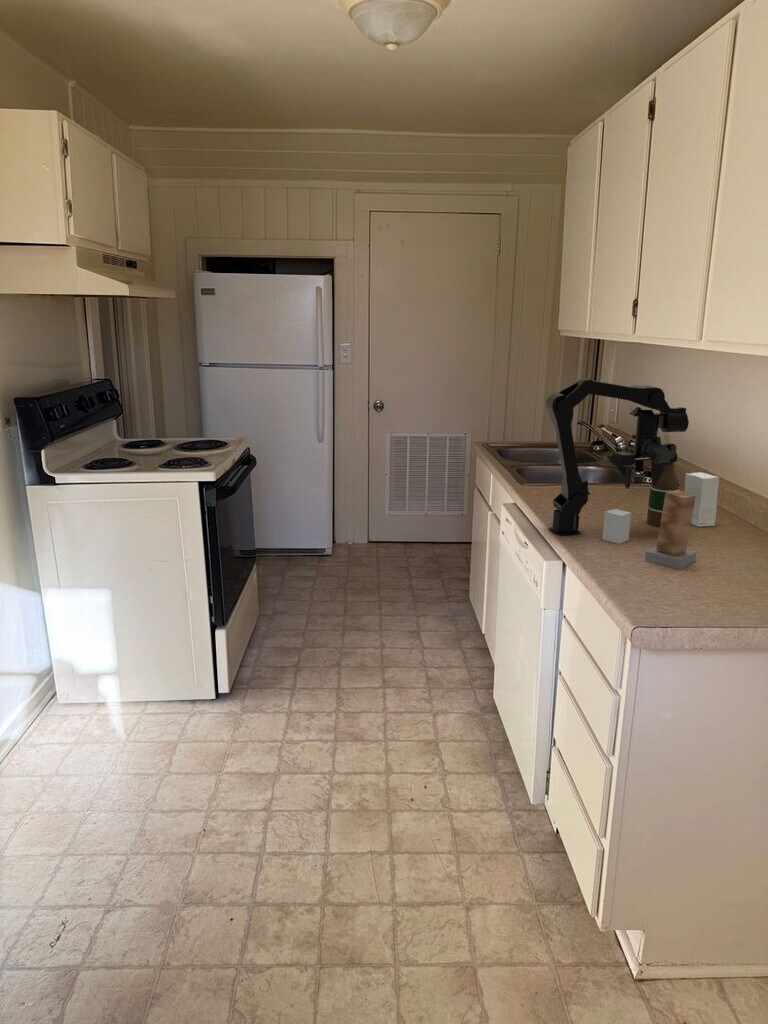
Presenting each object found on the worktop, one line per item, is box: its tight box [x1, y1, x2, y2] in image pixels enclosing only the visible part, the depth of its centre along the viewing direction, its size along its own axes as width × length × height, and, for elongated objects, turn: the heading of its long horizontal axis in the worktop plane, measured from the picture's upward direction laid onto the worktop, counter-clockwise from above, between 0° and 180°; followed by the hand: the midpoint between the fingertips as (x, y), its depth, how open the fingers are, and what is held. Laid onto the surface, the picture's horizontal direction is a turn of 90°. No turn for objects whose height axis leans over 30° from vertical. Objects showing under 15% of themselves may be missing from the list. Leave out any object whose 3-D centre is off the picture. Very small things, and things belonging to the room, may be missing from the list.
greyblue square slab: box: [644, 545, 697, 570], centre depth 178 cm, size 9×9×3 cm
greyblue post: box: [601, 508, 632, 545], centre depth 194 cm, size 5×5×8 cm
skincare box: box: [683, 471, 720, 528], centre depth 209 cm, size 8×6×15 cm
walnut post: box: [656, 489, 696, 556], centre depth 175 cm, size 5×5×15 cm
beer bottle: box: [646, 442, 680, 528], centre depth 207 cm, size 8×8×24 cm
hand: (640, 487), depth 199 cm, fingers open, 9 cm apart
